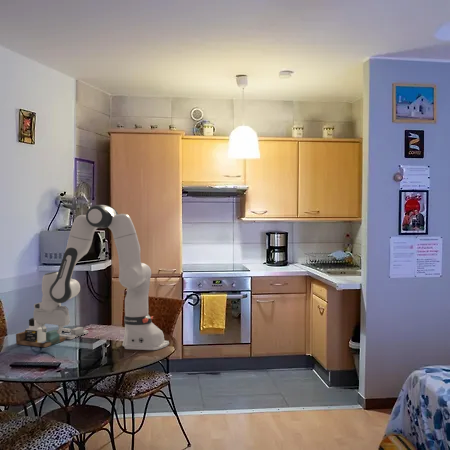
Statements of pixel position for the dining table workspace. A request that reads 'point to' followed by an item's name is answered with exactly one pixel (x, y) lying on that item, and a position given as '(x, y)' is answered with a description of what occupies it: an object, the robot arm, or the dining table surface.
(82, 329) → the broken sled
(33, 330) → the medicine bottle
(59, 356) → the dining table surface
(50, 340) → the sled
